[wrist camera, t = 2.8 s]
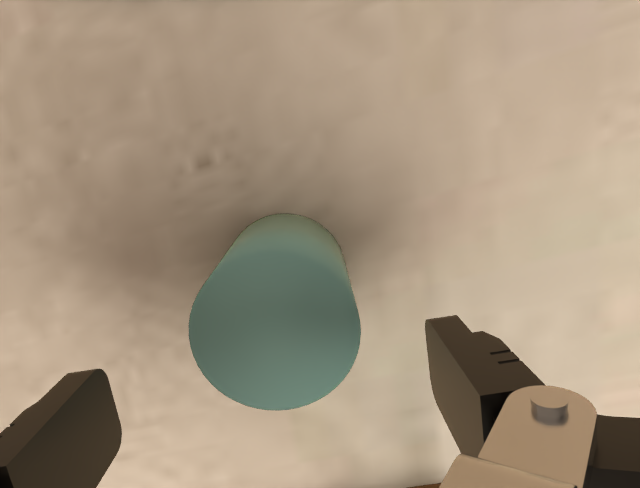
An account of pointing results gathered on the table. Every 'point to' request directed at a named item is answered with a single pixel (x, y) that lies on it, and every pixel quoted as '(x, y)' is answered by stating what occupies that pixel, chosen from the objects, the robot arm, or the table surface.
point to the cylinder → (277, 316)
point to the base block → (428, 486)
